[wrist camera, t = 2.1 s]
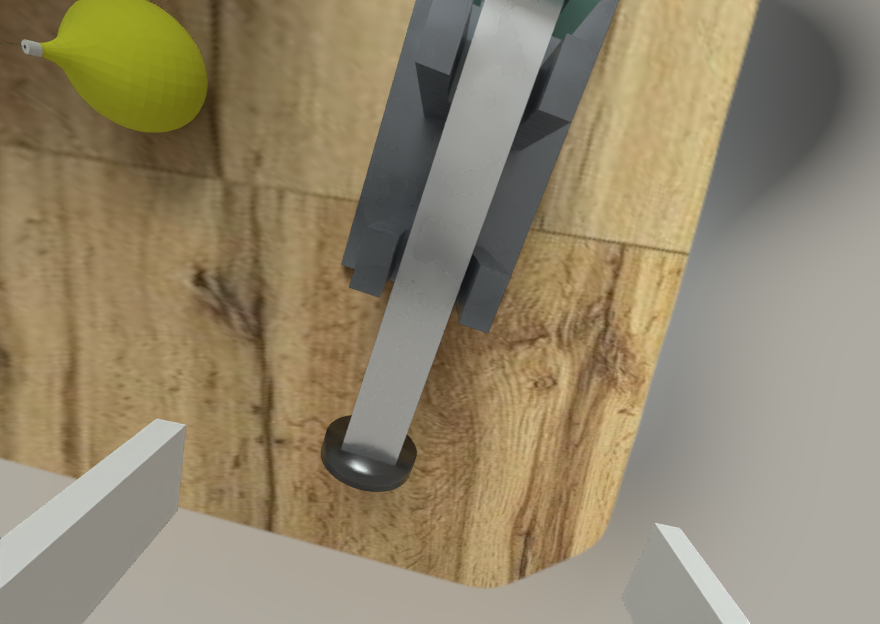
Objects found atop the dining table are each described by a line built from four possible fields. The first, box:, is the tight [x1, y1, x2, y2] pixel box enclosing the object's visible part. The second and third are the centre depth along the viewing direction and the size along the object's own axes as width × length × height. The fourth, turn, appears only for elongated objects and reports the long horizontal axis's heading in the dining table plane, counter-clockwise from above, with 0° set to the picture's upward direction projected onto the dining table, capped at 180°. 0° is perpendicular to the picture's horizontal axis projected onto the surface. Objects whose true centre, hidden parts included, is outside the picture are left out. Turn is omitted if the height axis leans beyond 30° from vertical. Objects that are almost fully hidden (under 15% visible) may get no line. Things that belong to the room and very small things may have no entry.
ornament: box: [0, 0, 208, 133], centre depth 23 cm, size 7×7×10 cm
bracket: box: [341, 0, 619, 333], centre depth 23 cm, size 12×22×12 cm, turn 161°
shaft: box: [321, 0, 564, 492], centre depth 22 cm, size 6×31×6 cm, turn 161°
